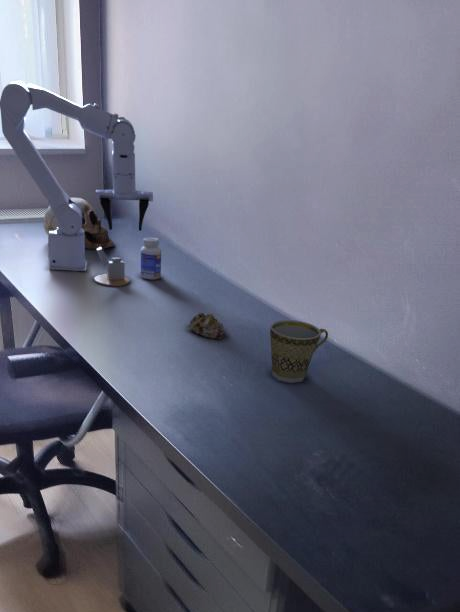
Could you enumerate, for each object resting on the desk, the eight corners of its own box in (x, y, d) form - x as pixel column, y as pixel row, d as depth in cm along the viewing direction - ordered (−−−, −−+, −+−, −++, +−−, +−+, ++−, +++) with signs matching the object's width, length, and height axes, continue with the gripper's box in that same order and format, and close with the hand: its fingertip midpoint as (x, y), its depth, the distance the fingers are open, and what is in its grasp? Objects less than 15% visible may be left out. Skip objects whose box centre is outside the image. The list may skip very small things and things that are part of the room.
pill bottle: (159, 280, 188) (160, 242, 182) (139, 278, 188) (139, 240, 182) (161, 274, 192) (162, 237, 187) (141, 272, 192) (142, 235, 187)
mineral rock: (179, 315, 161) (209, 303, 163) (182, 332, 164) (212, 320, 166) (202, 334, 154) (233, 320, 156) (205, 351, 157) (236, 338, 159)
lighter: (122, 277, 186) (122, 245, 182) (124, 279, 185) (124, 247, 180) (96, 278, 183) (95, 246, 179) (98, 280, 182) (97, 248, 178)
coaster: (93, 285, 180) (93, 283, 180) (95, 274, 187) (95, 272, 187) (129, 287, 181) (129, 285, 181) (129, 276, 189) (129, 274, 188)
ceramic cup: (280, 389, 139) (287, 340, 134) (255, 369, 146) (261, 322, 141) (334, 381, 145) (343, 334, 139) (308, 362, 152) (315, 316, 146)
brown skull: (119, 245, 211) (114, 197, 202) (70, 259, 201) (62, 210, 193) (88, 234, 219) (82, 188, 211) (40, 247, 210) (31, 199, 202)
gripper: (93, 174, 176) (96, 232, 183) (152, 177, 177) (153, 233, 185) (95, 169, 181) (98, 225, 189) (152, 171, 183) (152, 227, 191)
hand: (125, 229), depth 187 cm, fingers open, 7 cm apart
